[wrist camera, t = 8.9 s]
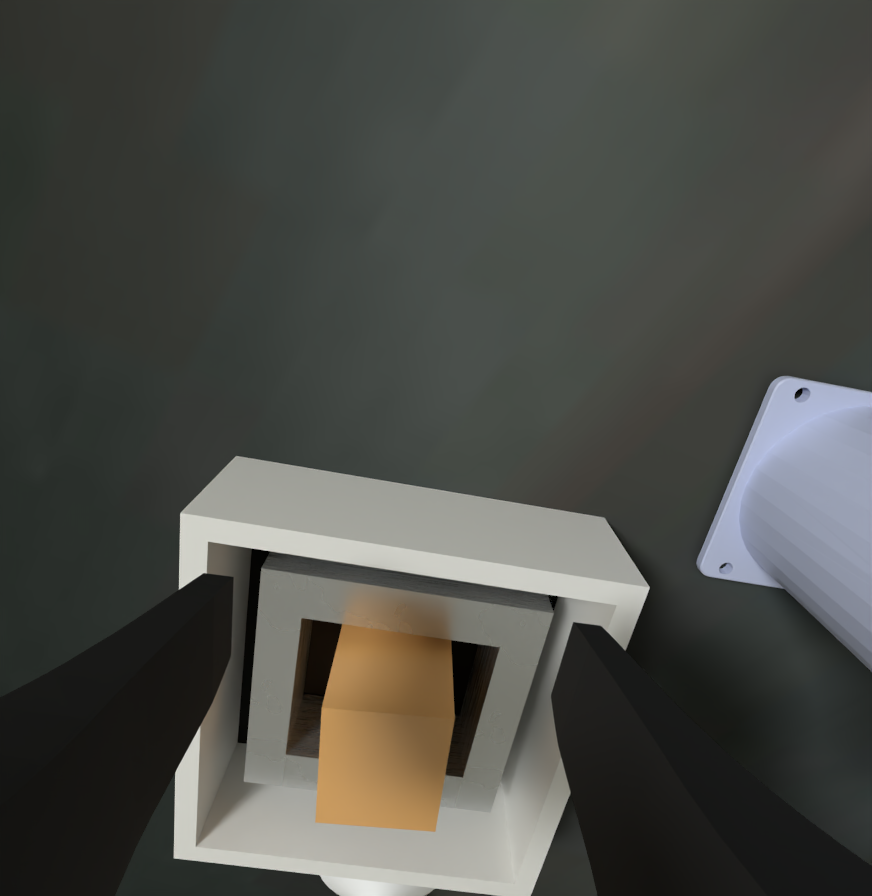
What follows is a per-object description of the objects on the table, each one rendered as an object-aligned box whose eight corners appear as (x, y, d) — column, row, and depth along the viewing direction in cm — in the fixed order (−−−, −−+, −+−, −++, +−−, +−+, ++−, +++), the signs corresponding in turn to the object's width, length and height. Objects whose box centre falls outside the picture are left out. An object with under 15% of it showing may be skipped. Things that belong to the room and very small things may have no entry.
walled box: (604, 517, 20) (649, 587, 16) (513, 790, 25) (529, 899, 21) (236, 455, 19) (180, 512, 15) (219, 753, 24) (173, 858, 20)
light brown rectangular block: (449, 596, 21) (454, 719, 16) (434, 691, 23) (435, 832, 17) (351, 587, 21) (321, 707, 16) (344, 682, 23) (315, 822, 17)
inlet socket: (537, 564, 21) (553, 613, 18) (483, 747, 24) (490, 812, 21) (285, 524, 20) (261, 568, 17) (266, 718, 23) (243, 781, 21)
